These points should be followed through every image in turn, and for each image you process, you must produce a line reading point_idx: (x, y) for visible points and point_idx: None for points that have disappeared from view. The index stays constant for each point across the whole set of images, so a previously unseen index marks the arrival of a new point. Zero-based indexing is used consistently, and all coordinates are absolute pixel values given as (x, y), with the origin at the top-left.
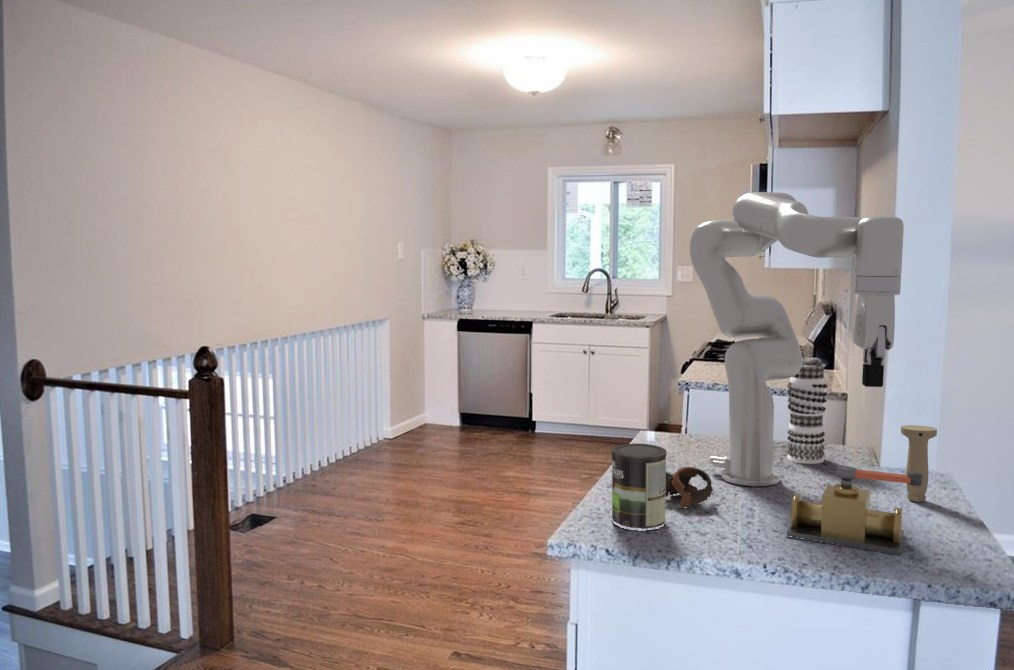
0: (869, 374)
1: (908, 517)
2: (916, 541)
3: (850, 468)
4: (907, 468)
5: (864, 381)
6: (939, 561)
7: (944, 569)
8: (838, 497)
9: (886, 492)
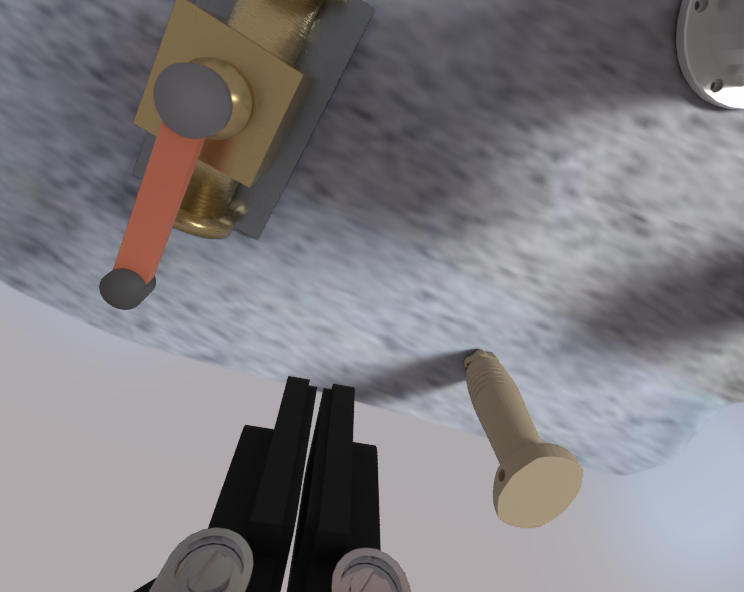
0: (257, 468)
1: (377, 299)
2: (229, 247)
3: (192, 117)
4: (505, 389)
5: (283, 396)
6: (118, 237)
7: (74, 225)
8: (161, 47)
9: (543, 331)
